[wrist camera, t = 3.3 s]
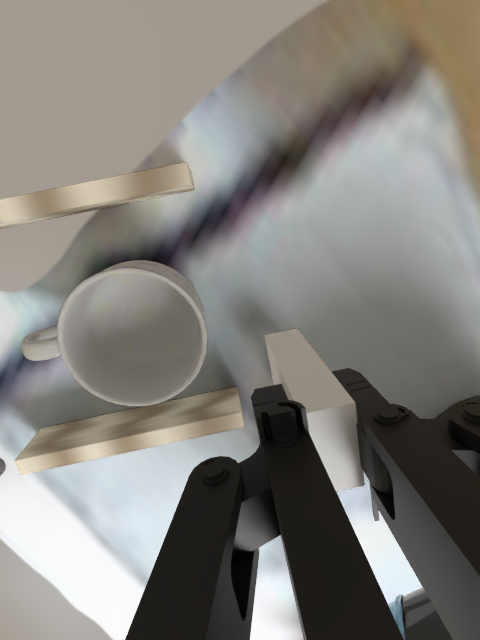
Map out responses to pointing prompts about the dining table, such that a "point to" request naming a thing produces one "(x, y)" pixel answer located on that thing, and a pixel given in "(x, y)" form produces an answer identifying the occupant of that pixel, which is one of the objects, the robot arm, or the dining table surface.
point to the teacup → (128, 334)
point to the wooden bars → (133, 424)
